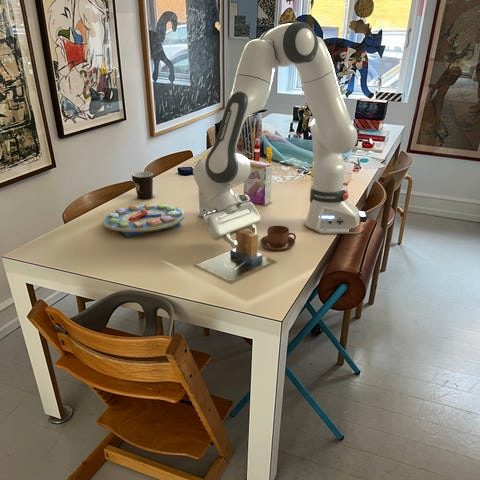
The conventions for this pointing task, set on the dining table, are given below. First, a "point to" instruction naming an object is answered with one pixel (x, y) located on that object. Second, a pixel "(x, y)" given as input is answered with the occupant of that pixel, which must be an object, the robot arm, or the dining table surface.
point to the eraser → (246, 247)
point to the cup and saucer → (278, 238)
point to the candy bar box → (259, 183)
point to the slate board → (231, 266)
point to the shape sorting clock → (143, 219)
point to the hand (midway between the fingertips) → (246, 242)
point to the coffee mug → (143, 184)
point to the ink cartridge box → (203, 204)
